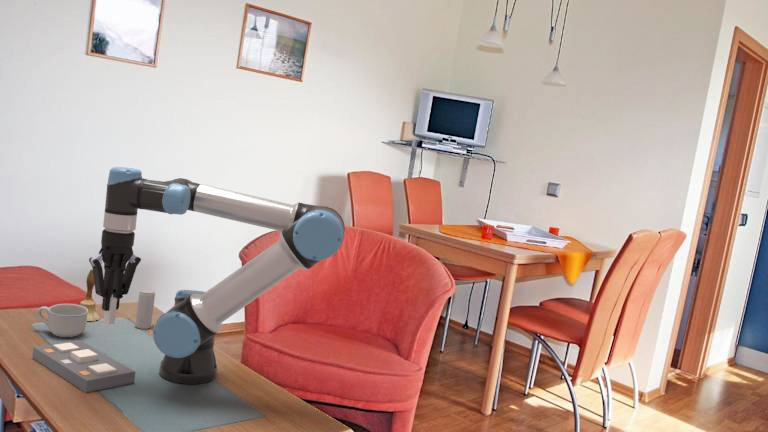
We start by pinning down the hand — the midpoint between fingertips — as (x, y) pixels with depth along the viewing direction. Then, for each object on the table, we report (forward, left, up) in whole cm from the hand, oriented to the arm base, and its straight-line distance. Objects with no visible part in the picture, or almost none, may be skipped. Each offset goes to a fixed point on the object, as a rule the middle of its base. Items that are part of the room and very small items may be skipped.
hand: (108, 322), depth 169 cm
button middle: (+9, 0, -13) cm, 16 cm away
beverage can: (+34, -34, -16) cm, 51 cm away
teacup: (+38, -9, -16) cm, 42 cm away
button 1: (+18, 0, -14) cm, 23 cm away
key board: (+9, 0, -16) cm, 18 cm away
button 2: (0, 0, -14) cm, 14 cm away
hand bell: (+49, -23, -16) cm, 56 cm away
